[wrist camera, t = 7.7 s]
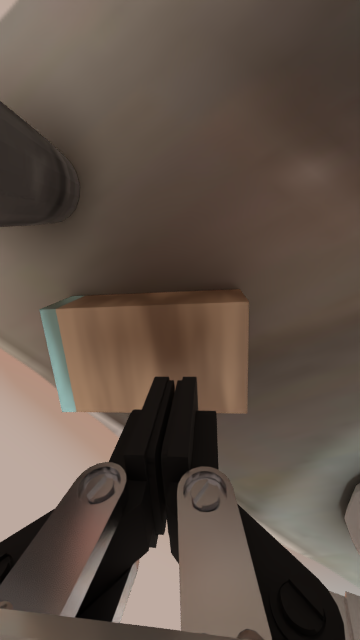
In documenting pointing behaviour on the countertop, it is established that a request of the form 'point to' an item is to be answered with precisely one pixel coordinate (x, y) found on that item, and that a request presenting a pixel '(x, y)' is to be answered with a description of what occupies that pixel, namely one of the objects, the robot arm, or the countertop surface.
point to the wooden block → (148, 348)
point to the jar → (354, 517)
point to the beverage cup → (32, 176)
